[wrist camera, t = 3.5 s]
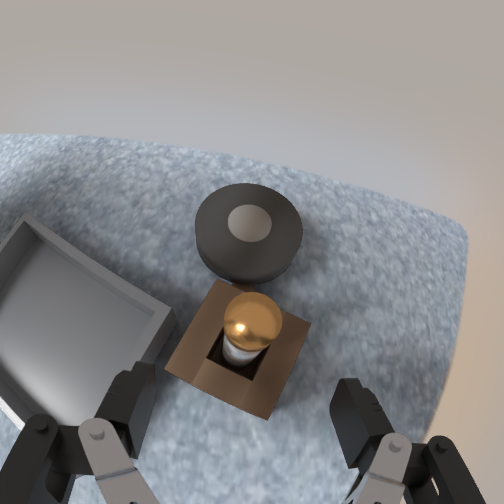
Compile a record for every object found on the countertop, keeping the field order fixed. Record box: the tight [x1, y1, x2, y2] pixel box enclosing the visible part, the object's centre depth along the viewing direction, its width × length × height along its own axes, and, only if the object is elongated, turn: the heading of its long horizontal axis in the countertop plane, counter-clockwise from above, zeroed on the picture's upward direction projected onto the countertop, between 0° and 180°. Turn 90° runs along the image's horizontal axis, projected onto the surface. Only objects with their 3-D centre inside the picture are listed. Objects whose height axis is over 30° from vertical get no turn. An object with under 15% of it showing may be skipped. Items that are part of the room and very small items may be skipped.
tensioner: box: [164, 183, 311, 420], centre depth 21 cm, size 11×16×5 cm
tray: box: [0, 211, 178, 479], centre depth 18 cm, size 18×15×4 cm
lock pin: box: [222, 292, 282, 371], centre depth 16 cm, size 2×2×10 cm
